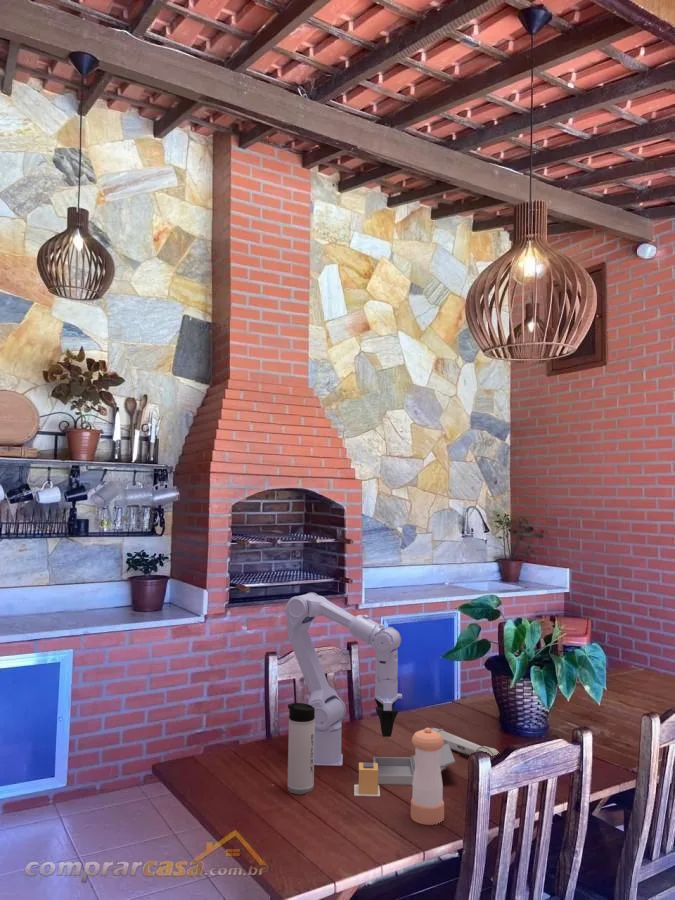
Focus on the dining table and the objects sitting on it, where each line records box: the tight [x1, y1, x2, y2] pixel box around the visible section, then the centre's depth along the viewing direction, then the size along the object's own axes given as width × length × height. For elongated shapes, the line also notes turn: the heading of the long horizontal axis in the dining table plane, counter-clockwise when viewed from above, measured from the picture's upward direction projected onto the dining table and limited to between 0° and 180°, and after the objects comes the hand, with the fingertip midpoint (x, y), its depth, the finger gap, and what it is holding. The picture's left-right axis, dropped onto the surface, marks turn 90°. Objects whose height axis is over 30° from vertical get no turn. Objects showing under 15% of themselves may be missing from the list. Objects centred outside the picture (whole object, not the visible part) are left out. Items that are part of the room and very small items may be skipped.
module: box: [358, 762, 379, 794], centre depth 166 cm, size 4×4×6 cm
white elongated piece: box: [429, 727, 500, 756], centre depth 190 cm, size 5×7×25 cm
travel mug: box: [287, 702, 315, 795], centre depth 168 cm, size 6×7×20 cm
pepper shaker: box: [410, 727, 445, 826], centre depth 154 cm, size 7×7×19 cm
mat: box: [353, 784, 381, 797], centre depth 166 cm, size 6×6×1 cm
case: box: [372, 744, 456, 786], centre depth 175 cm, size 20×13×6 cm, turn 89°
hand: (385, 731), depth 178 cm, fingers open, 7 cm apart
